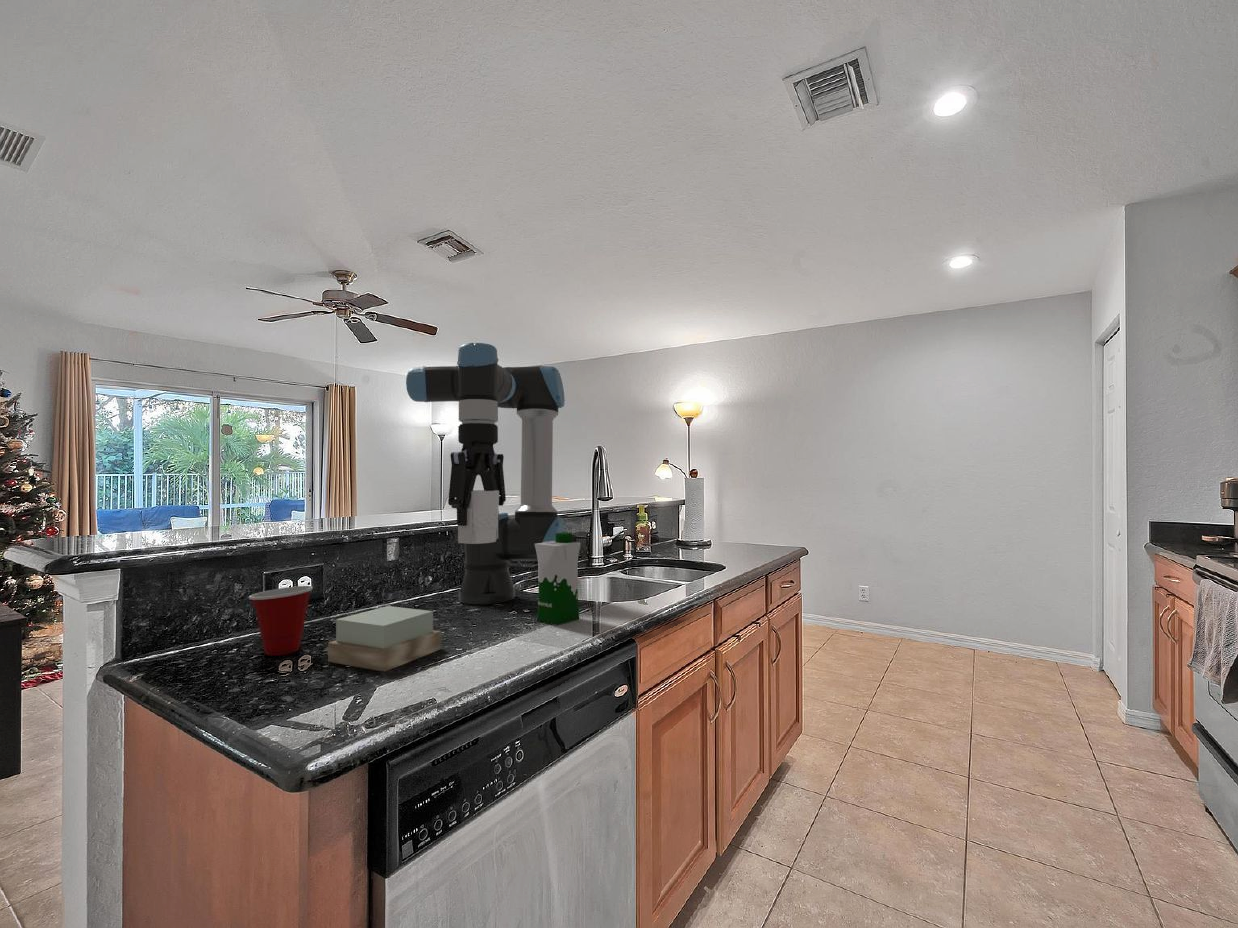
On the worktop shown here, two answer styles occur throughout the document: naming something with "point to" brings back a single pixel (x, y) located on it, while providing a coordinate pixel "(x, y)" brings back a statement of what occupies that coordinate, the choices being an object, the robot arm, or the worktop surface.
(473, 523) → the white cup
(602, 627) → the worktop surface
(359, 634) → the tower top
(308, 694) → the worktop surface
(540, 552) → the milk carton
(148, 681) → the worktop surface
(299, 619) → the plastic cup
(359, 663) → the tower base
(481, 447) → the robot arm
